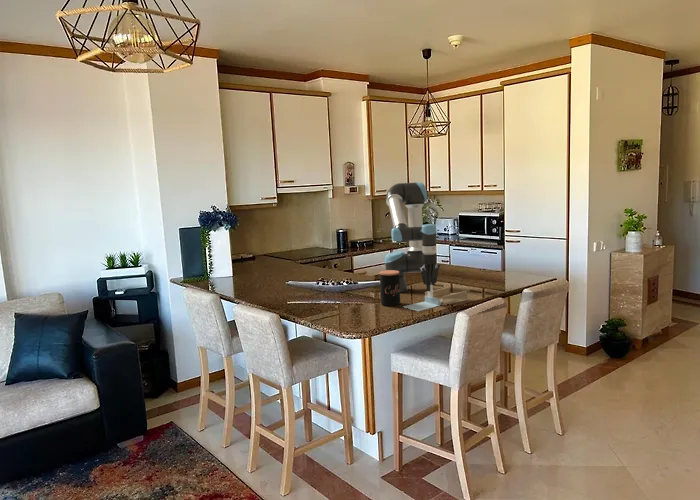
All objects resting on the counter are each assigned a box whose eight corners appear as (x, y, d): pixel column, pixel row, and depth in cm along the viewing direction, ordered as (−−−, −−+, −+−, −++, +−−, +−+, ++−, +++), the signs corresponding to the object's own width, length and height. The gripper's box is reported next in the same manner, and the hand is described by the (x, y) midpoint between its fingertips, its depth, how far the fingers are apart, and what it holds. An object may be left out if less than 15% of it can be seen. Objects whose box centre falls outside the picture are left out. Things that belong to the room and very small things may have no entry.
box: (425, 301, 296) (425, 292, 295) (448, 295, 306) (448, 287, 305) (444, 305, 284) (443, 296, 284) (467, 299, 295) (467, 291, 294)
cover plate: (403, 308, 284) (402, 301, 284) (426, 302, 294) (426, 295, 294) (418, 312, 275) (418, 304, 274) (441, 306, 285) (441, 299, 284)
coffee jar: (384, 307, 286) (383, 274, 283) (378, 303, 296) (377, 271, 293) (403, 305, 289) (402, 272, 286) (396, 301, 299) (395, 269, 296)
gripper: (425, 255, 278) (426, 299, 281) (443, 252, 285) (443, 295, 288) (415, 254, 284) (416, 297, 287) (433, 251, 291) (434, 293, 295)
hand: (430, 296), depth 288 cm, fingers closed
